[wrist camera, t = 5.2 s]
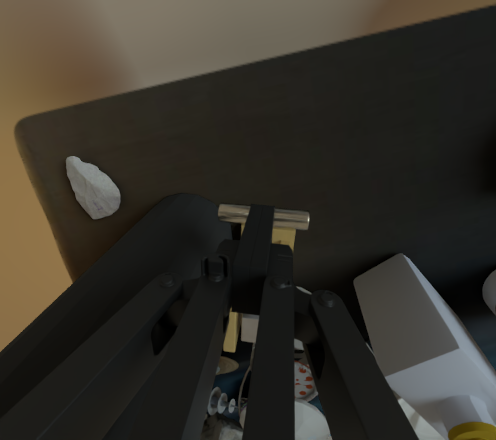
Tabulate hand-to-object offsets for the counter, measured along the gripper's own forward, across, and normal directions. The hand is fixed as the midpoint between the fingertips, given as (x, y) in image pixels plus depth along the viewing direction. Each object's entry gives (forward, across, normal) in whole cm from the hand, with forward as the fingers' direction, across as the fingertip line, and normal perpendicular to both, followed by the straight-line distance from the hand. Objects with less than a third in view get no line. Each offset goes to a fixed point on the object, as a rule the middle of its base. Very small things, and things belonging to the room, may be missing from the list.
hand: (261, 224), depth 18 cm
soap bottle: (+12, +17, -14) cm, 25 cm away
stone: (+13, -20, -3) cm, 24 cm away
